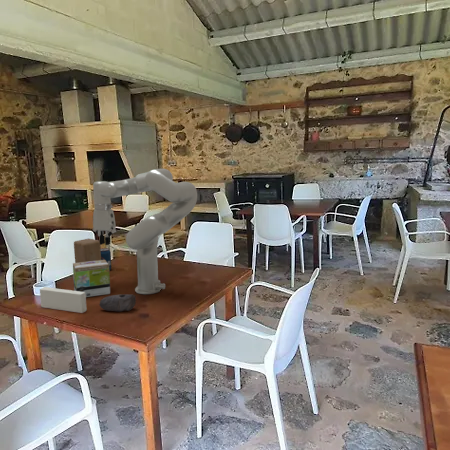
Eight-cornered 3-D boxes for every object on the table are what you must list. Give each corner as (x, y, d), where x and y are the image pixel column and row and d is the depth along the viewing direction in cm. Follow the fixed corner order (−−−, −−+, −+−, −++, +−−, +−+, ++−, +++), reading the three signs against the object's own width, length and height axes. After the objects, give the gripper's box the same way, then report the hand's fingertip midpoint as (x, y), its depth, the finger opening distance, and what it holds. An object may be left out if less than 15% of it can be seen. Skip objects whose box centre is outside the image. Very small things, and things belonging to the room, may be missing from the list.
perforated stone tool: (97, 312, 165) (96, 296, 164) (102, 307, 170) (101, 292, 169) (133, 313, 164) (132, 297, 163) (136, 308, 169) (136, 292, 168)
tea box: (77, 299, 180) (74, 268, 177) (74, 292, 188) (71, 262, 186) (111, 294, 186) (109, 263, 184) (106, 287, 195) (104, 258, 192)
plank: (86, 310, 167) (85, 292, 166) (82, 313, 164) (80, 294, 163) (46, 304, 174) (44, 287, 172) (41, 307, 171) (39, 289, 170)
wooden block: (86, 281, 204) (83, 243, 201) (75, 278, 210) (72, 241, 207) (103, 276, 212) (100, 240, 209) (91, 273, 218) (89, 237, 215)
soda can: (96, 270, 223) (94, 250, 221) (105, 267, 229) (103, 247, 227) (105, 272, 220) (103, 251, 218) (114, 269, 226) (112, 248, 224)
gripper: (121, 206, 192) (123, 243, 196) (93, 205, 197) (96, 241, 201) (112, 208, 185) (114, 247, 189) (83, 207, 190) (86, 244, 194)
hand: (105, 244), depth 195 cm, fingers open, 2 cm apart
